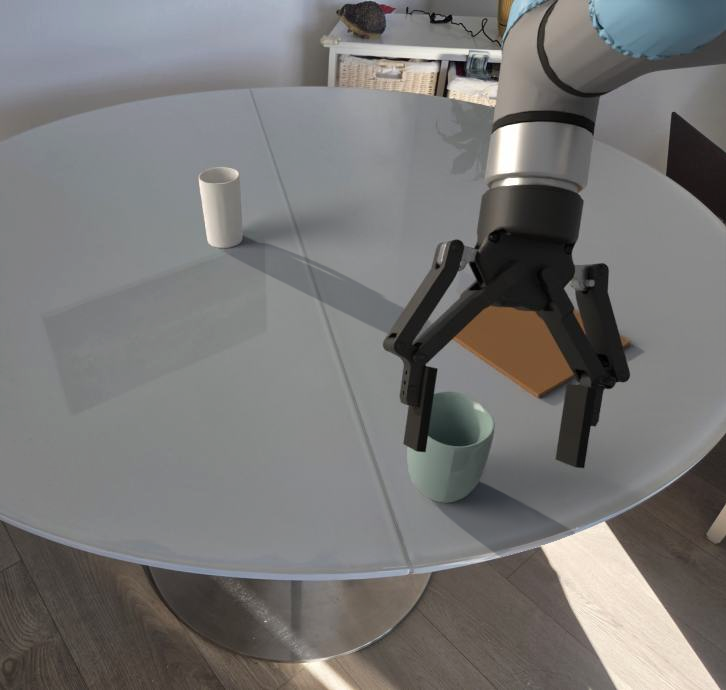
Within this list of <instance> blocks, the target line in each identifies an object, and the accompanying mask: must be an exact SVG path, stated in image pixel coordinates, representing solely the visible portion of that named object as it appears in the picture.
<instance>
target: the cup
mask: <svg viewBox="0 0 726 690" xmlns="http://www.w3.org/2000/svg"><path fill="white" fill-rule="evenodd" d="M495 425H496V424H495V420H494V417H493V415H492V414H491V412H490V411H489V410H488V408H487V407H486V406H485V405H483V404H482V403H481V402H480V401H478V400H476V399H475V398H473V397H471V396H469V395H466V394H464V393H460V392H455V391H439V392H434V397H433V404H432V411H431V418H430V425H429V432H428V439H427V446H426V452H417V451H415V450H413V449H411V448H410V447H408V446H406V448H407V449H406V463H407V471H408V476H409V477H410V480H411V482H412V484H413V485H414V487H415V488H416V489H417V490H418V491H419V492H420V493H421V494H422V495H423V496H425V497H426V498H428V499H430V500H432V501H435V502H439V503H442V504H443V503H445V504H448V503H454V502H457V501H460V500H461V499H464V498H465V497H467V496H468V495H469V494H470V493H472V492H473V490H474V489H475V488H476V486H477V485H478V484H479V482H480V480H481V478H482V476H483V473H484V471H485V468H486V465H487V462H488V459H489V455H490V452H491V449H492V444H493V441H494V440H493V439H494V435H495V428H496V427H495Z"/></svg>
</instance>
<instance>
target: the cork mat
mask: <svg viewBox="0 0 726 690" xmlns="http://www.w3.org/2000/svg"><path fill="white" fill-rule="evenodd" d="M573 313H574V315H575V317H576V319H577V320H578V322H579V324H580V326H581V328H582V329H583V331H584V333H585V330H584V326H583V322H582V319H581V315H580V312H578V311H576V310H575V309H574V311H573ZM585 335H586V333H585ZM620 338H621V342H622V346H623V349H626V348H627V347H629V346H630V345H631V343H632V342H631V340H629V339H627V338H626V337H624V336H622V335H620ZM452 340H453V341H455V342H456V343H458V344H459V345H461V346H462V347H464V348H465V349H466V350H468V351H469V352H471V353H472V354H474V355H475V356H476V357H478V358H479V359H481V360H482V361H484V362H485V363H486V364H487V365H490V366H491V367H492V368H493V369H495V370H496V371H498V372H499V373H501V374H502V375H504V376H505V377H507V378H508V379H509V380H511V381H513V382H514V383H516V384H517V385H518V386H520V387H521V388H523V389H524V390H525V391H527V392H529V394H531V395H533V396H534V397H535V398H536V399H539V398H541V397H542V396H544V395H546V394H547V393H549V392H551V391H553V390H555V389H557V388H558V387H560V386H561V385H563V384H565V383H566V382H568V381H570V380H572V379H574V378H576V377H575V376H574V374H573V372H572V370H571V369H570V367H569V365H568V363H567V361H566V360H565V358H564V356H563V354H562V353H561V351H560V349H559V347H558V345H557V344H556V342H555V340H554V338H553V336H552V335H551V333H550V331H549V329H548V328H547V326H546V324H545V322H544V321H543V319H541V318H540V317H539V316H538V315H537V314H536V312H535V311H521V310H516V309H514V308H512V307H494V306H489V307H487V308H485V309H484V310H482V311H481V312H480V313H479V314H478V315H477V316H476V317H475V318H474V319H473V320H472V321H471V322H470V323H469V324H468V325H467V326H466V327H465V328H464V329H462V330H461V331H460V332H459V333H458V334H457V335H456V336H455V337H454V338H453V339H452Z"/></svg>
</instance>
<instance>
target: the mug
mask: <svg viewBox="0 0 726 690" xmlns="http://www.w3.org/2000/svg"><path fill="white" fill-rule="evenodd" d="M198 184H199V193H200V198H201V199H200V200H201V206H202V212H203V220H204V226H205V227H204V228H205V233H206V239H207V243H208V245H210V246H212V247H213V248H218V249H228V248H234V247H235V246H238V245H239V244H240V243H242V241H243V238H244V235H243V233H244V231H243V215H242V196H241V193H242V192H241V179H240V172H239V171H238V170H237V169H235V168H232V167H227V166H217V167H210V168H208V169H205V170H203V171H201V172H200V173H199V175H198Z"/></svg>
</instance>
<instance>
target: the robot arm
mask: <svg viewBox="0 0 726 690" xmlns="http://www.w3.org/2000/svg"><path fill="white" fill-rule="evenodd" d="M507 20H508V21H507V23H506V29H505V31H504V33H503V36H502V43H501V47H500V48H501V59H500V60H501V61H500V66H499V67H500V68H499V73H498V83H497V89H496V96H495V97H496V98H495V105H494V113H493V119H492V127H491V134H490V139H489V146H488V153H487V155H488V156H487V161H486V166H485V167H486V168H485V173H484V174H485V175H484V180H483V181H484V184H485V185H486V187H487V188H488V190H486V191H485V192H484V193H483V194H482V195H481V199H480V200H481V201H480V205H479V206H480V207H479V213H478V221H477V228H476V236H477V240H476V243H475V245H474V247H471V246H467V245H464V242H463V241H462V240H461V239H457V238H456V239H453V240H447V241H442V242H440V243H439V244H438V245H436V248H435V250H434V251H435V252H434V256H433V259H432V263H431V268H430V269H429V270H428V272H427V274H426V275H425V277H424V278H423V280H422V282H421V283H420V284H419V286H418V288H417V289H416V291H415V292H414V294H413V295H412V297H411V298H410V300H409V302H407V304H406V306H405V308H404V309H403V310H402V312H401V313H400V315H399V317H398V318H397V320H396V321H395V323H394V324H393V326H392V327H391V328H390V330H389V332H388V333H387V335H386V336H385V338H384V339H383V341H382V347H383V349H384V351H386V352H388V353H391V354H392V355H394V356H396V357H398V358H399V359H400V360H401V361H402V362H403V367H402V376H401V383H400V389H399V400H400V403H401V404H403V405H406V406H408V407H407V414H406V422H405V430H404V436H403V443H402V444H403V445H404V446H406V447H407V446H408V447H410V448H411V449H413V450H415V451H417V452H426V446H427V439H428V432H429V425H430V418H431V411H432V404H433V397H434V394H435V390H436V383H437V376H438V368H437V367H433V366H428V365H427V364H428V363H429V362H430V361H431V360H432V359H433V358H434V357H435V356H436V355H437V354H439V353H440V352H441V351H442V350H443V349H444V348H445V347H446V346H447V345H448V344H449V343H450V342H451V341H452V340H453V338H454V337H455V336H456V335H457V334H458V333H459V332H460V331H461V330H462V329H464V328H465V327H466V326H467V325H468V324H469V323H470V322H471V321H472V320H473V319H474V318H475V317H476V316H477V315H478V314H479V313H480V312H481V311H482V310H484V309H485V308H487V307H489V306H494V307H512V308H514V309H516V310H521V311H535V312H536V314H537V315H538V316H539V317H540V318H541V319H543V321H544V322H545V324H546V326H547V328H548V329H549V331H550V333H551V335H552V336H553V338H554V340H555V342H556V344H557V345H558V347H559V349H560V351H561V353H562V354H563V356H564V358H565V360H566V361H567V363H568V365H569V367H570V369H571V370H572V372H573V374H574V376H575V377H574V378H575V379H576V382H578V384H576V383H566V386H565V392H564V393H565V394H564V400H563V407H562V411H561V412H562V414H561V419H560V426H559V432H558V439H557V446H556V453H555V461H558V462H561V463H563V464H566V465H568V466H571V467H574V468H577V469H585V468H586V467H585V465H586V459H587V454H588V447H589V439H590V435H591V434H590V433H591V427H594V428H595V427H597V425H598V423H599V421H600V416H601V409H602V402H603V395H604V391H605V390H612V389H613V388H614V387H615V386H616V383H627V382H628V381H629V380H630V378H631V371H630V368H629V365H628V360H627V357H626V352H625V350H624V349H625V348H623V346H622V342H621V338H620V336H621V335H620V331H619V327H618V324H617V320H616V318H615V317H616V316H615V313H614V309H613V305H612V303H611V298H610V296H609V278H610V277H609V276H610V275H609V274H610V270H609V269H610V268H609V266H608V265H607V264H606V263H604V262H599V263H590V264H575V263H574V259H573V250H574V248H575V245H576V244H577V242H578V239H579V236H580V230H581V222H582V217H583V216H582V215H583V211H584V210H583V209H584V204H585V202H584V201H585V200H584V199H583V198H582V196H581V194H579V193H581V192H583V190H585V189H586V187H587V186H588V181H589V173H590V172H589V171H590V165H591V159H592V158H591V157H592V150H593V143H594V136H595V128H596V122H597V115H598V110H599V104H600V98H601V97H602V96H605V95H607V94H609V93H610V92H612V91H614V90H615V91H616V90H617V89H619V88H620V87H622V86H625V85H626V84H628V83H630V82H632V81H634V80H636V79H638V78H640V77H642V76H645V75H647V74H652V73H655V72H660V71H670V70H678V69H689V68H697V67H698V68H699V67H708V66H717V65H726V0H513V1H512V4H511V7H510V11H509V14H508V19H507ZM467 265H469V268H470V271H471V272H472V275H473V277H474V278H475V280H474V281H473V282H472V283H471V284H470V285H469V286H468V287H467V288H466V289H464V291H463V292H462V293H461V294H460V295H459V298H458V299H457V300H455V302H454V303H453V304H452V305H451V306H449V308H448V309H446V311H445V312H443V313H442V314H441V315H440V316H439V317H438V318H437V319H436V320H435V321H433V322H432V324H431V325H430V326H428V327H427V328H426V329H425V330H424V331H423V332H422V333H421V334H420V335H419V333H420V332H421V330H423V328H424V327H425V325H426V323H427V321H428V320H429V319H430V317H431V316H432V314H433V312H434V311H435V309H436V308H437V307H438V305H439V303H440V302H441V300H442V298H443V297H444V296H445V294H446V292H447V291H448V289H449V288H450V286H451V285H452V283H453V282H454V280H455V278H456V277H457V275H458V272H462V271H463V270H464V269H466V267H467ZM568 284H570V285H569V286H570V287H571V288H572V289H574V293H575V300H576V304H577V307H578V311H579V312H578V313H580V315H581V319H582V322H583V326H584V330H585V333H586V335H585V333H584V331H583V329H582V328H581V326H580V324H579V322H578V320H577V319H576V317H575V315H574V313H573V311H574V310H575V306H574V304H573V302H572V300H571V298H570V297H569V295H568V293H567V291H566V289H565V287H567V286H568ZM418 335H419V336H418Z"/></svg>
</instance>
